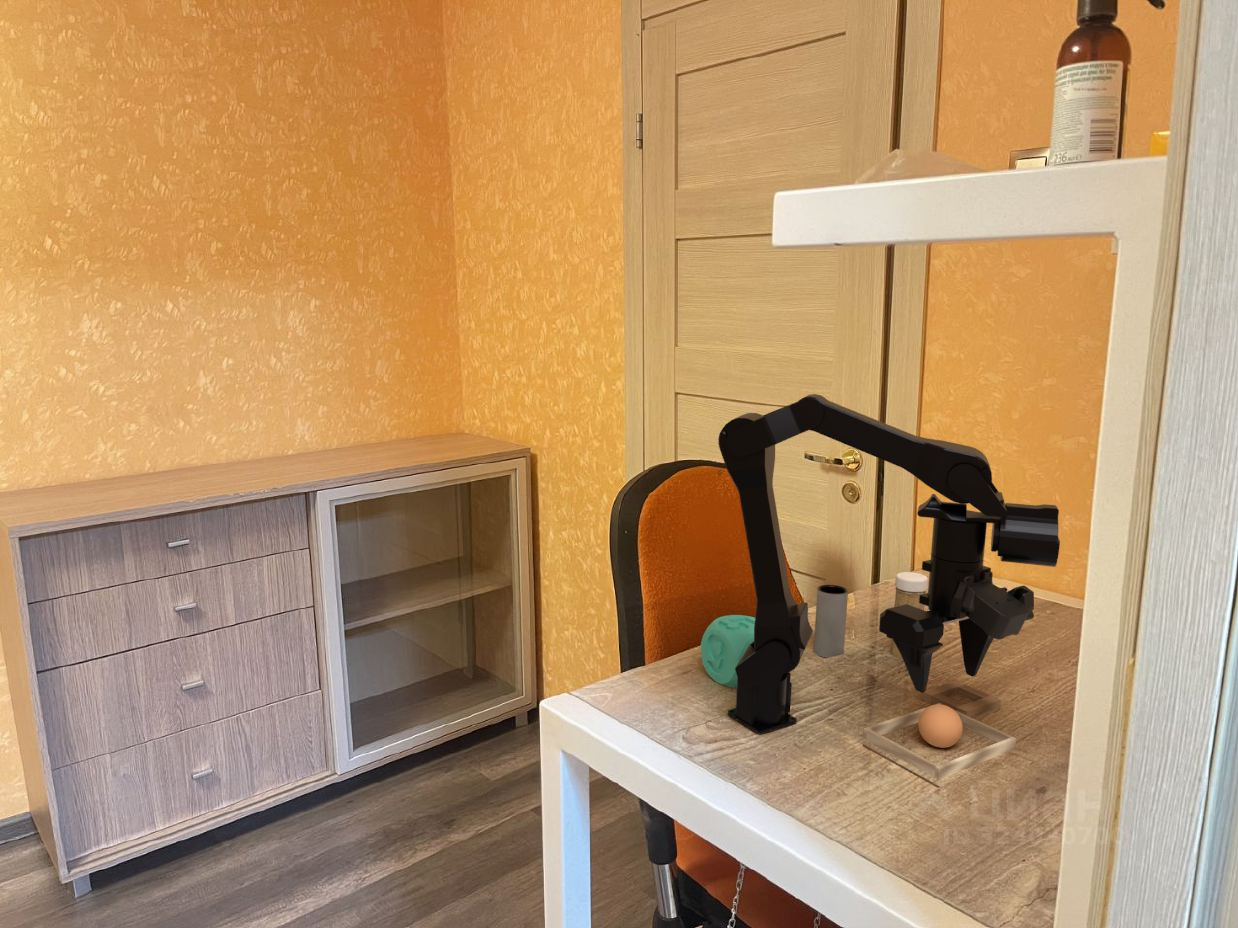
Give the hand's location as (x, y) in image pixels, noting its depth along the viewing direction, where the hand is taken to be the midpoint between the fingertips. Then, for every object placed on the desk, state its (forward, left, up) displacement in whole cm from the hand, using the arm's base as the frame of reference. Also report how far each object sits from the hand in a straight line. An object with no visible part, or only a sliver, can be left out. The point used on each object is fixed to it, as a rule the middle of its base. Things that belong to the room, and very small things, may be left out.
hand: (946, 683), depth 105 cm
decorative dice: (-7, +29, -9) cm, 31 cm away
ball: (0, 0, -8) cm, 8 cm away
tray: (0, 0, -9) cm, 9 cm away
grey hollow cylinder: (+11, +29, -9) cm, 32 cm away
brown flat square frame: (+12, +6, -9) cm, 16 cm away
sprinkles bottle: (+19, +21, -9) cm, 30 cm away
